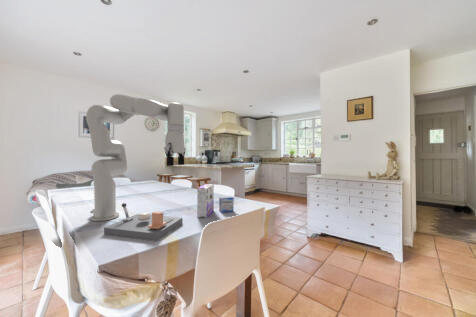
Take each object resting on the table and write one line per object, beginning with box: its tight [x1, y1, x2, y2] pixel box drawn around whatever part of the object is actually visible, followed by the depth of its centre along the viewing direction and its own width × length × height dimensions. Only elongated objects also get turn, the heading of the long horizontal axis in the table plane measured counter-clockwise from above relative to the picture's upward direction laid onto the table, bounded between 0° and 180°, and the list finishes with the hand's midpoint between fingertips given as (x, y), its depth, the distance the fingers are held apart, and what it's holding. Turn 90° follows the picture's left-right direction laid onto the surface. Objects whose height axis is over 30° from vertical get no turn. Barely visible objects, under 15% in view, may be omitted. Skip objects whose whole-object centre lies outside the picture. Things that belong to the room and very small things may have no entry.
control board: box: [103, 213, 183, 242], centre depth 90 cm, size 26×20×4 cm
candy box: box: [197, 183, 215, 219], centre depth 113 cm, size 14×6×16 cm, turn 172°
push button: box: [137, 211, 151, 221], centre depth 90 cm, size 5×5×2 cm
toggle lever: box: [121, 202, 130, 219], centre depth 93 cm, size 2×2×7 cm
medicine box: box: [218, 195, 235, 214], centre depth 119 cm, size 8×4×9 cm, turn 114°
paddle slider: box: [148, 211, 167, 229], centre depth 84 cm, size 5×6×6 cm
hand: (175, 165), depth 94 cm, fingers open, 9 cm apart
